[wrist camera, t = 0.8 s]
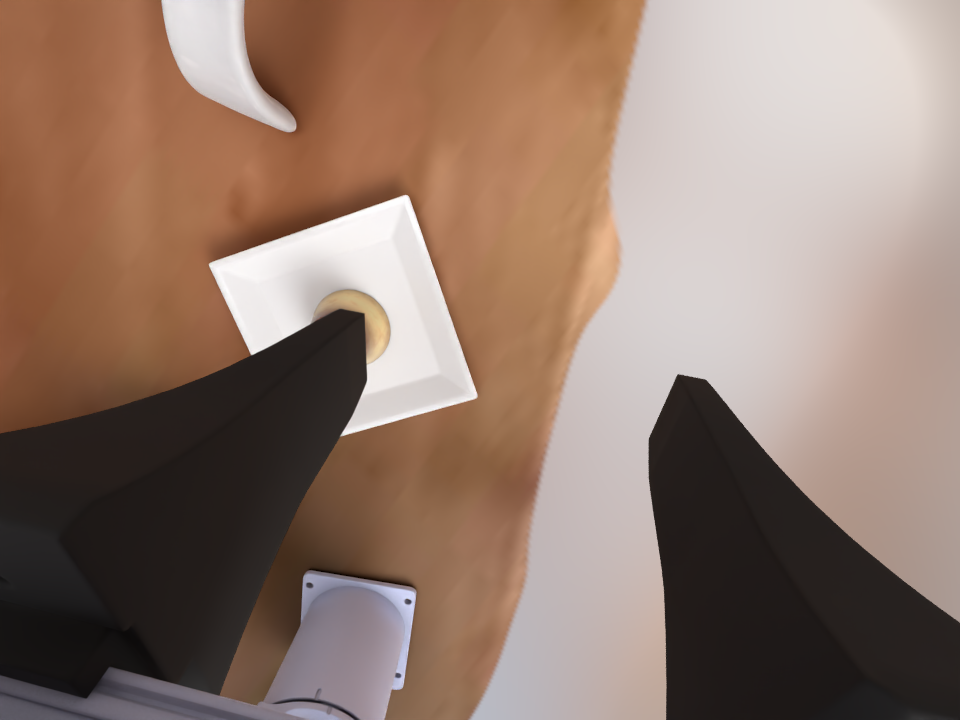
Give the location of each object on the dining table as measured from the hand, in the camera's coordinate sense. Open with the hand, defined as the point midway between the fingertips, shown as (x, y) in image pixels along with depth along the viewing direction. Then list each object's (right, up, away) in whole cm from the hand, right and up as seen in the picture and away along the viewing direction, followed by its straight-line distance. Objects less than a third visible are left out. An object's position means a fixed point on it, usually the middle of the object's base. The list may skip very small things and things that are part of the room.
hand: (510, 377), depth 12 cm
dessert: (-8, +2, +18) cm, 20 cm away
